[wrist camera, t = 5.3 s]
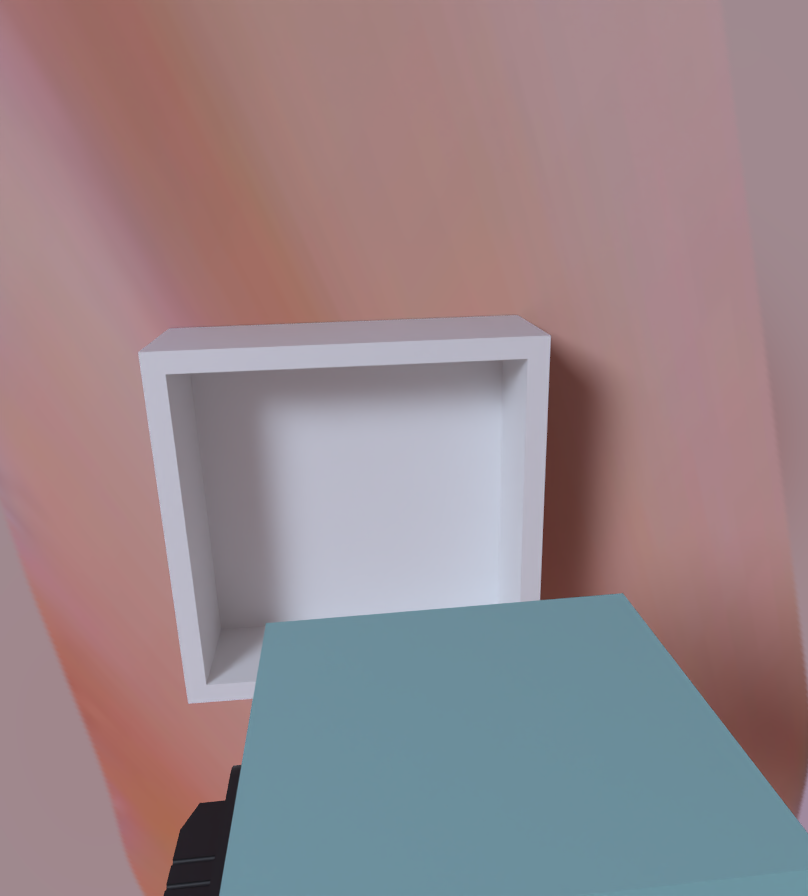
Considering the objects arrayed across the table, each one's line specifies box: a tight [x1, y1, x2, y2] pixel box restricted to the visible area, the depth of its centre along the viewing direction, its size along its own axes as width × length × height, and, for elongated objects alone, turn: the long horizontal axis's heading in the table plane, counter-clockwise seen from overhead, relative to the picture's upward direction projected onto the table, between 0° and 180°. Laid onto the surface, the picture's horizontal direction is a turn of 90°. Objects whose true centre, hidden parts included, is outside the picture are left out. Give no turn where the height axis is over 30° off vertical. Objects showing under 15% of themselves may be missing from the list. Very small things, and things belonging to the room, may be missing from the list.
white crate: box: [138, 315, 551, 704], centre depth 26 cm, size 12×12×4 cm
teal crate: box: [219, 593, 808, 896], centre depth 10 cm, size 6×6×6 cm
